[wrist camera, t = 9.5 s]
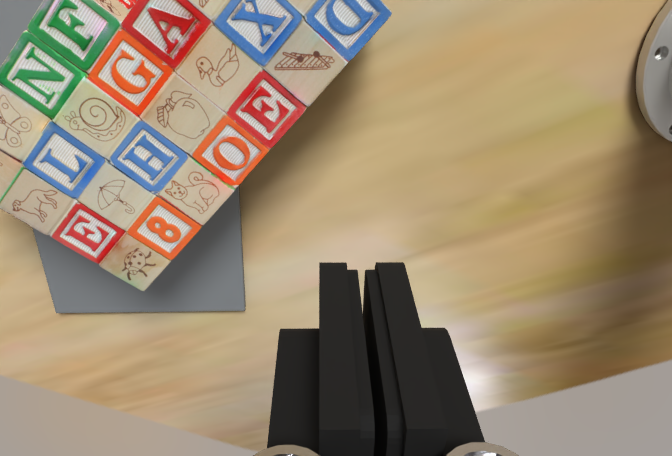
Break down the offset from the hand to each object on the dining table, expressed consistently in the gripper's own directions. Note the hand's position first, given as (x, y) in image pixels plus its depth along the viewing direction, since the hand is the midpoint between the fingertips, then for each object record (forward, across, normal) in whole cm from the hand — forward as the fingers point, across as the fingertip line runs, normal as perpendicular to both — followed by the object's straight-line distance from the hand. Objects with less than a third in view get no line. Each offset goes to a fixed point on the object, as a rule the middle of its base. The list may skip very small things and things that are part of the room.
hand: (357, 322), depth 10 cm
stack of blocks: (+20, +4, +4) cm, 21 cm away
